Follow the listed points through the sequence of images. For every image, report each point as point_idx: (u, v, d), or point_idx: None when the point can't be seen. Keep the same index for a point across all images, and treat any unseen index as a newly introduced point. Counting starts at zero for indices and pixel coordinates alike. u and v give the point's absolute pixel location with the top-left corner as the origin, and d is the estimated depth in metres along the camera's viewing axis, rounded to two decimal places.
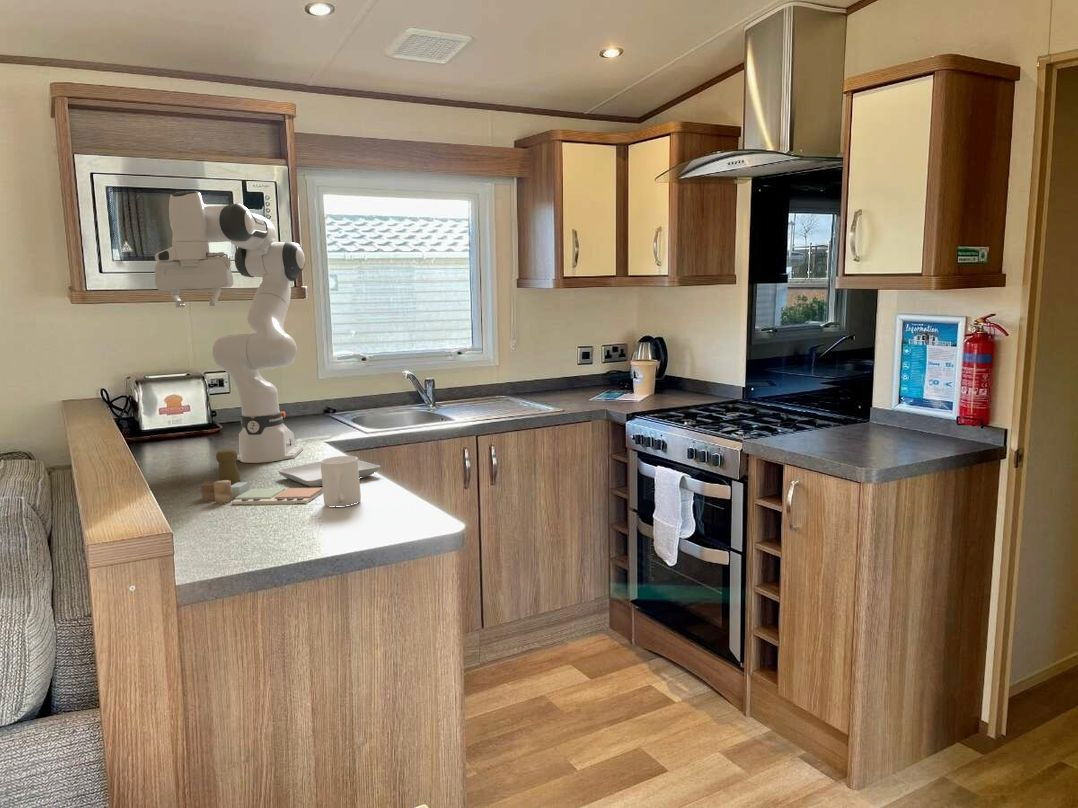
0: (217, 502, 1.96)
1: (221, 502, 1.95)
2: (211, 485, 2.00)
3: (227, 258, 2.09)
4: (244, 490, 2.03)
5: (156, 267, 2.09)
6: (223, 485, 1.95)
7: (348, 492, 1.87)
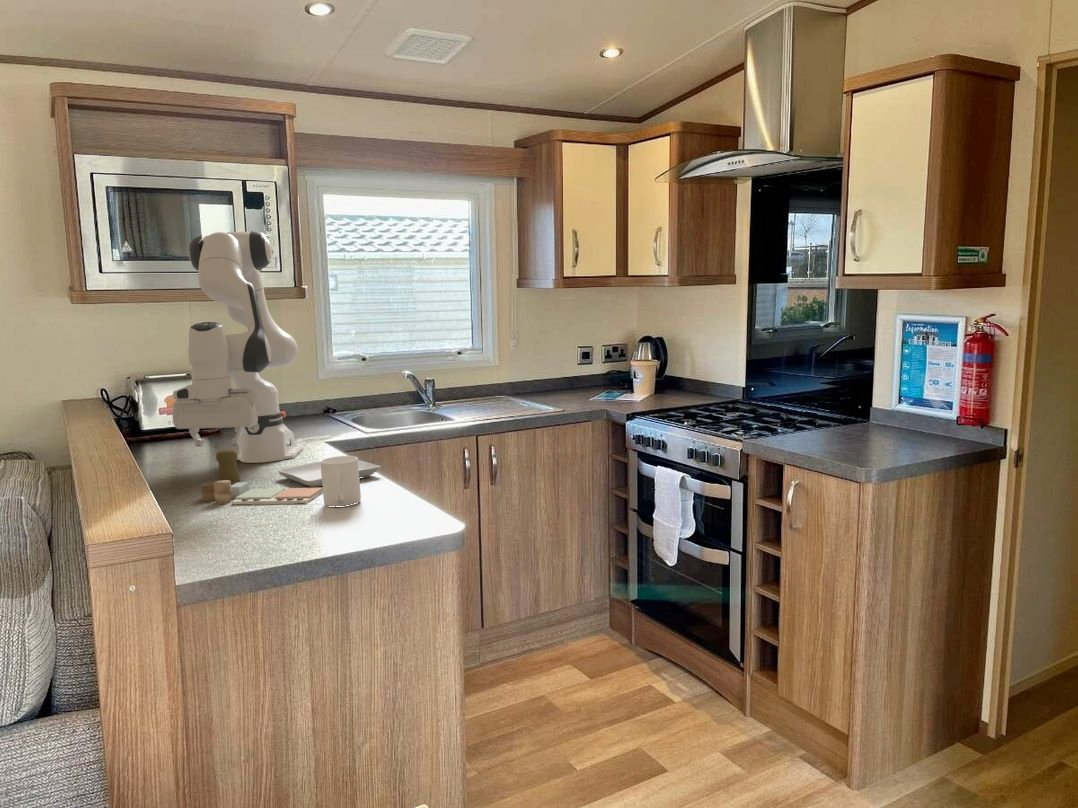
0: (217, 502, 1.96)
1: (221, 502, 1.95)
2: (211, 485, 2.00)
3: (251, 395, 1.92)
4: (244, 490, 2.03)
5: (175, 405, 1.93)
6: (223, 485, 1.95)
7: (348, 492, 1.87)
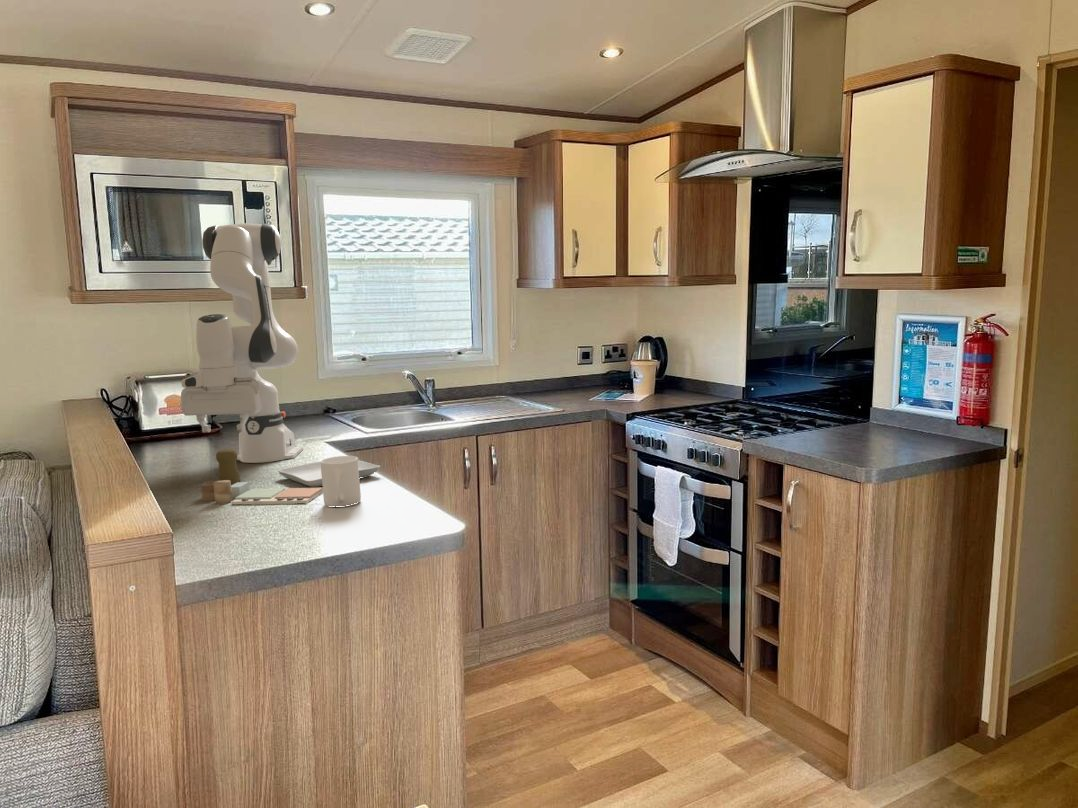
0: (217, 502, 1.96)
1: (221, 502, 1.95)
2: (211, 485, 2.00)
3: (255, 384, 2.03)
4: (244, 490, 2.03)
5: (183, 393, 2.03)
6: (223, 485, 1.95)
7: (348, 492, 1.87)
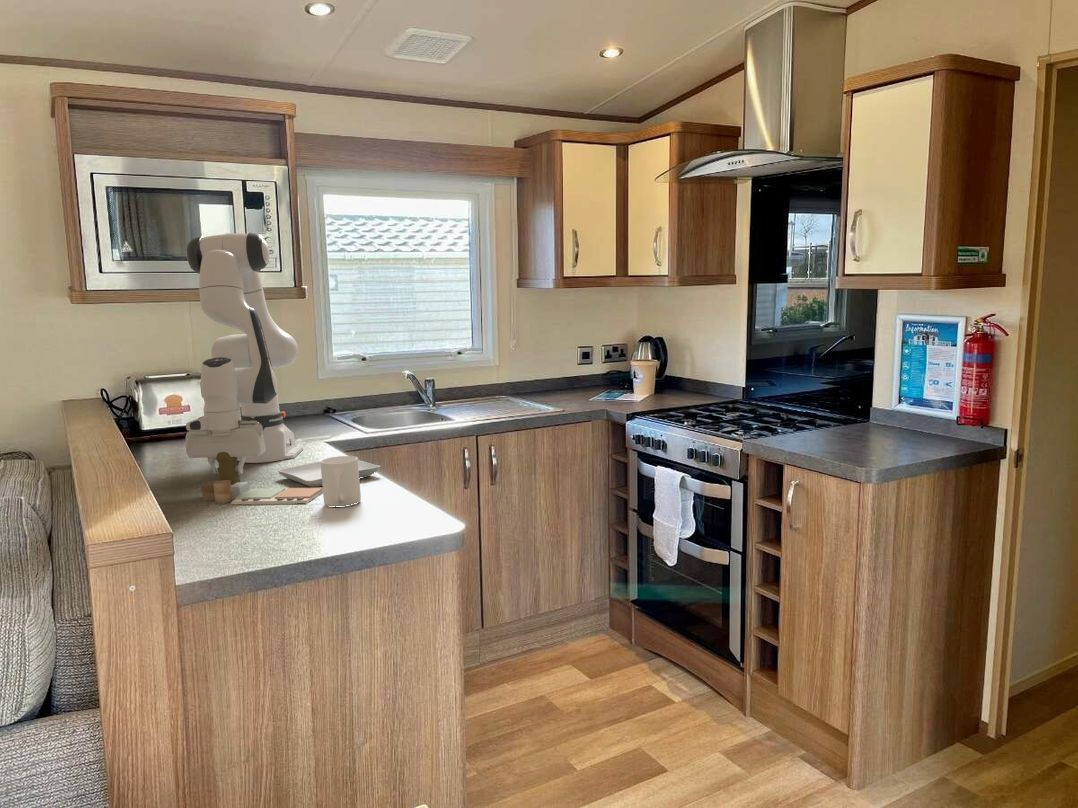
0: (217, 502, 1.96)
1: (221, 502, 1.95)
2: (211, 485, 2.00)
3: (259, 427, 2.05)
4: (244, 490, 2.03)
5: (187, 436, 2.05)
6: (223, 484, 1.95)
7: (348, 492, 1.87)
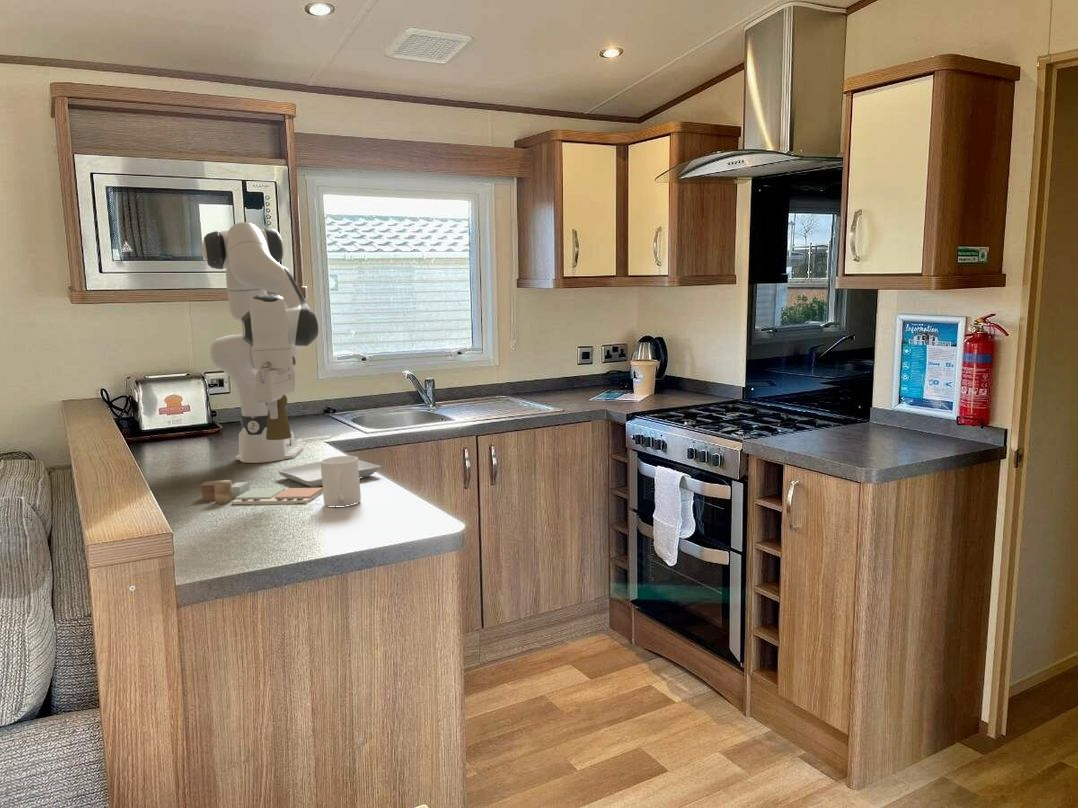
0: (216, 501, 1.96)
1: (220, 502, 1.95)
2: (211, 485, 2.00)
3: None
4: (244, 490, 2.03)
5: None
6: (223, 485, 1.95)
7: (348, 492, 1.87)
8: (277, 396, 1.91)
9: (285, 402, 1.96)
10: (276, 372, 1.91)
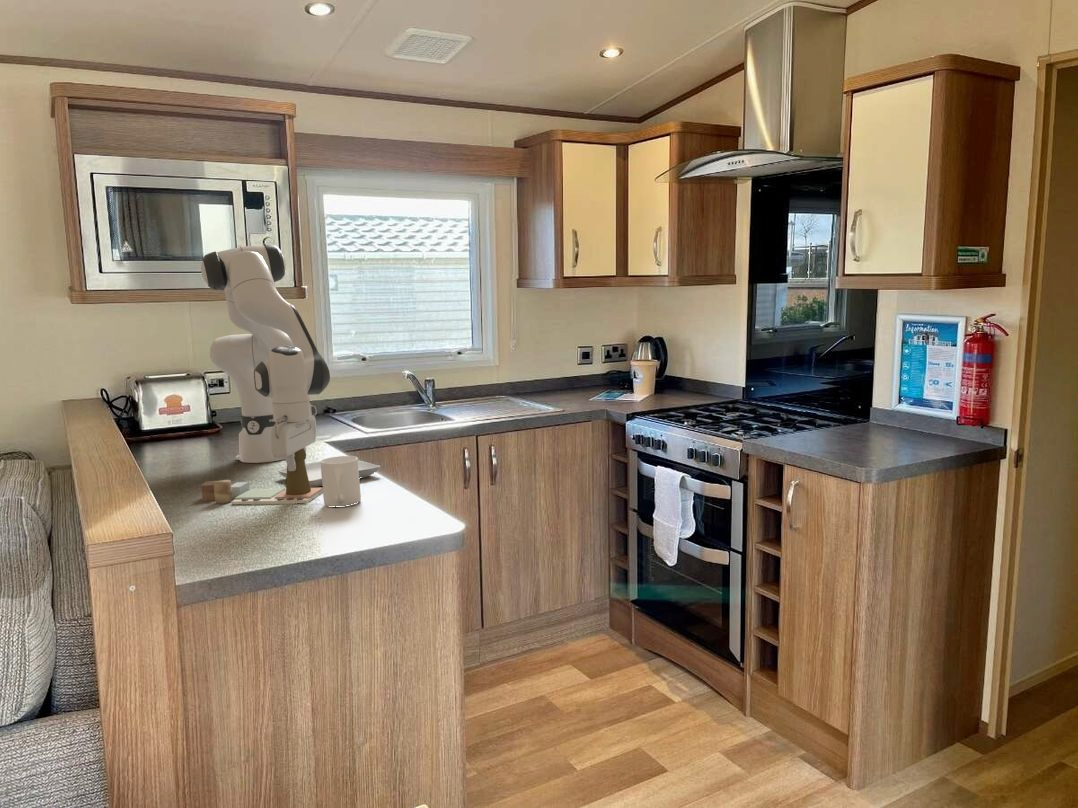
0: (216, 501, 1.96)
1: (219, 501, 1.95)
2: (211, 485, 2.00)
3: None
4: (244, 490, 2.03)
5: None
6: (221, 484, 1.95)
7: (348, 492, 1.87)
8: (293, 450, 1.91)
9: (303, 457, 1.97)
10: (293, 425, 1.92)
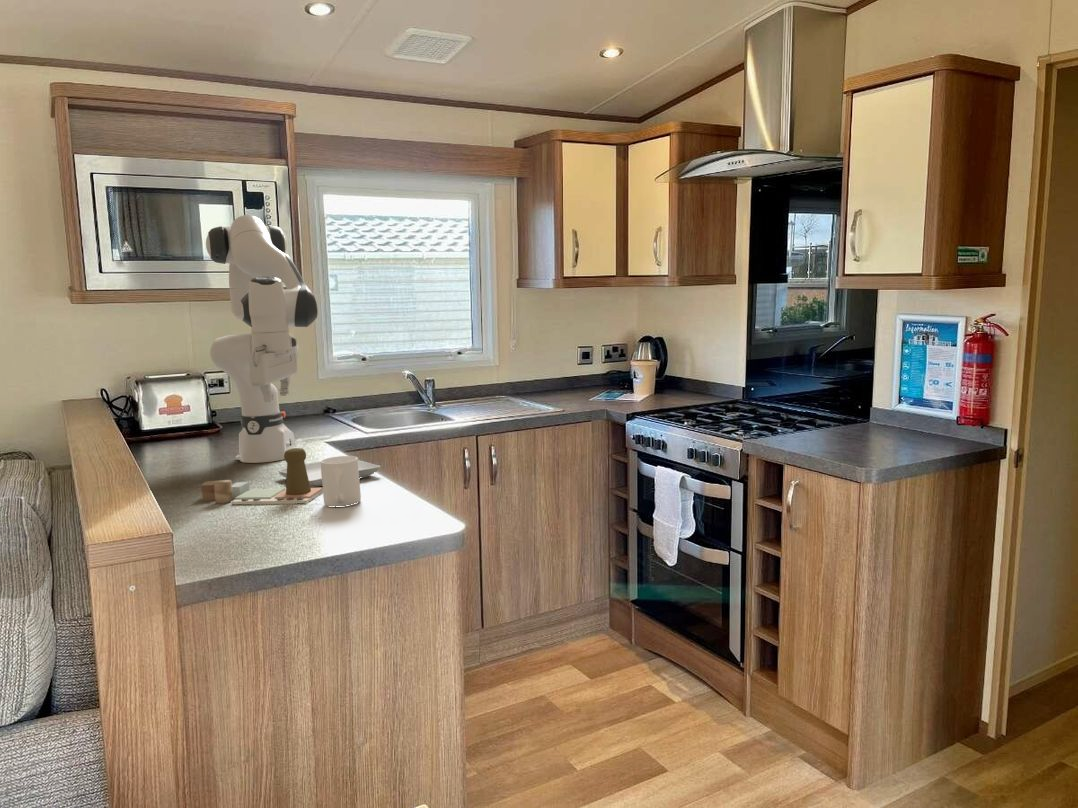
0: (215, 501, 1.96)
1: (218, 501, 1.96)
2: (211, 485, 2.00)
3: None
4: (244, 490, 2.03)
5: None
6: (220, 484, 1.95)
7: (348, 492, 1.87)
8: (272, 379, 1.93)
9: (303, 457, 1.97)
10: (272, 354, 1.93)
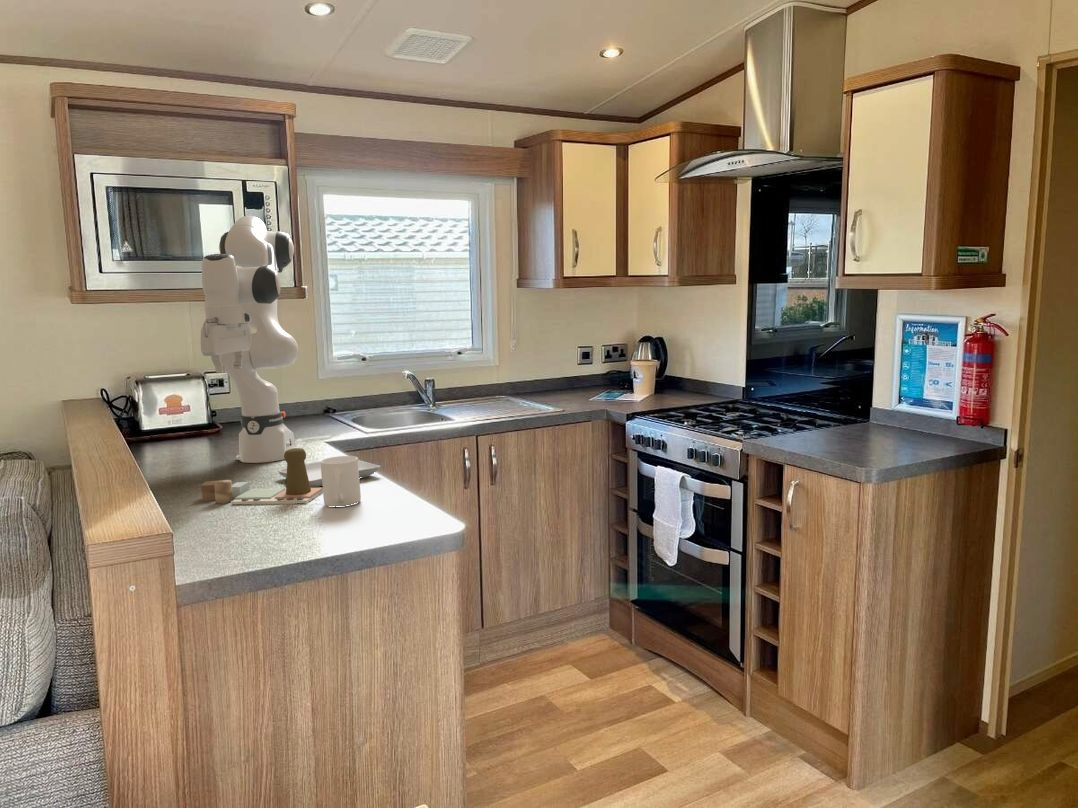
0: (215, 501, 1.96)
1: (217, 501, 1.96)
2: (211, 485, 2.00)
3: None
4: (244, 490, 2.03)
5: None
6: (219, 485, 1.95)
7: (348, 492, 1.87)
8: (223, 350, 2.02)
9: (303, 457, 1.97)
10: (223, 327, 2.02)
